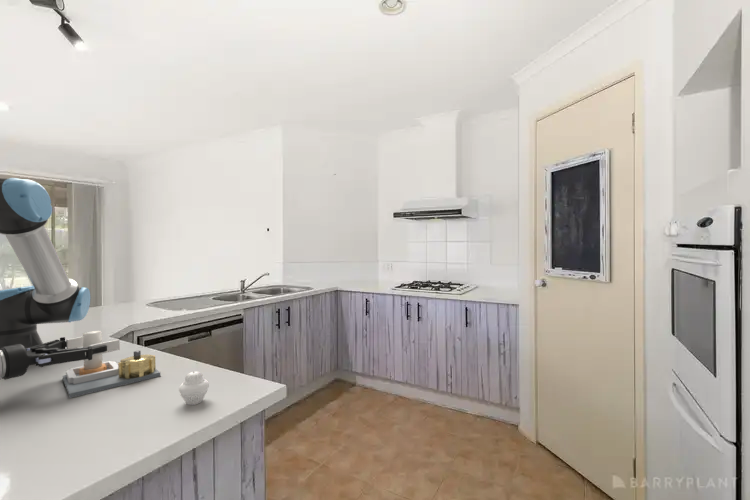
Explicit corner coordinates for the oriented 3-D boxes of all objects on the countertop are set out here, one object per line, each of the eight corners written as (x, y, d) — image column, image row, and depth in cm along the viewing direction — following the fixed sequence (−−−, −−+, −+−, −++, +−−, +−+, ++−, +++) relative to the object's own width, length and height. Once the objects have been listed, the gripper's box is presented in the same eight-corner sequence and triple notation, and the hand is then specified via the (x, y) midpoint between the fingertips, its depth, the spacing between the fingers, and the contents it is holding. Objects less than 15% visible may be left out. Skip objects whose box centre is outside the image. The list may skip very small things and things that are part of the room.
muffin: (173, 408, 78) (172, 376, 77) (189, 396, 84) (188, 366, 84) (200, 408, 77) (199, 376, 77) (214, 396, 83) (214, 366, 83)
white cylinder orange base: (78, 374, 97) (77, 332, 97) (104, 369, 101) (103, 329, 101) (81, 380, 93) (80, 336, 93) (108, 374, 97) (106, 332, 97)
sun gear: (115, 373, 97) (115, 352, 97) (151, 366, 103) (150, 345, 103) (122, 381, 91) (121, 358, 91) (159, 372, 97) (158, 351, 97)
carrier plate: (62, 379, 97) (62, 370, 97) (143, 362, 110) (143, 354, 110) (69, 397, 84) (69, 387, 84) (160, 375, 98) (160, 366, 98)
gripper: (-18, 371, 87) (86, 349, 106) (21, 390, 75) (130, 361, 94) (-18, 341, 87) (85, 324, 106) (20, 355, 75) (129, 332, 94)
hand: (106, 341), depth 100 cm, fingers open, 13 cm apart
